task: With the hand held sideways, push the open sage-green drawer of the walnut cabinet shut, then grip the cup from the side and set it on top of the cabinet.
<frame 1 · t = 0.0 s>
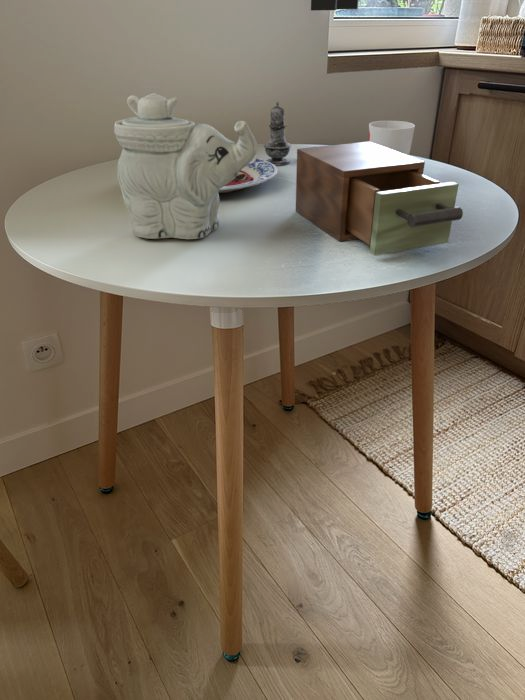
hand: (336, 10, 65), 28 cm above the table, tool pointing down, fingers open, 13 cm apart
ceramic plate: (210, 182, 104), on the table
cup: (385, 181, 103), on the table
salt shaker: (277, 163, 116), on the table
cabinet: (352, 219, 84), on the table
drawer: (396, 209, 73), point 5 cm above the table, slide at 7.0 cm
teapot: (191, 232, 81), on the table
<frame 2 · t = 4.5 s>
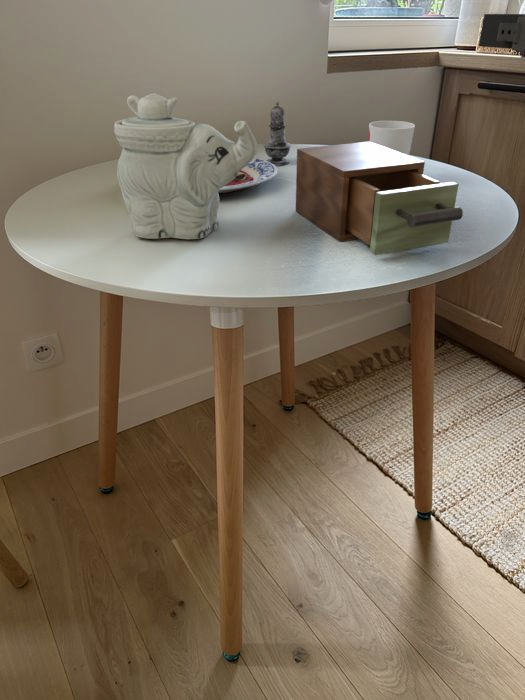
hand: (487, 30, 53), 26 cm above the table, tool horizontal, fingers closed
nothing on the table moved.
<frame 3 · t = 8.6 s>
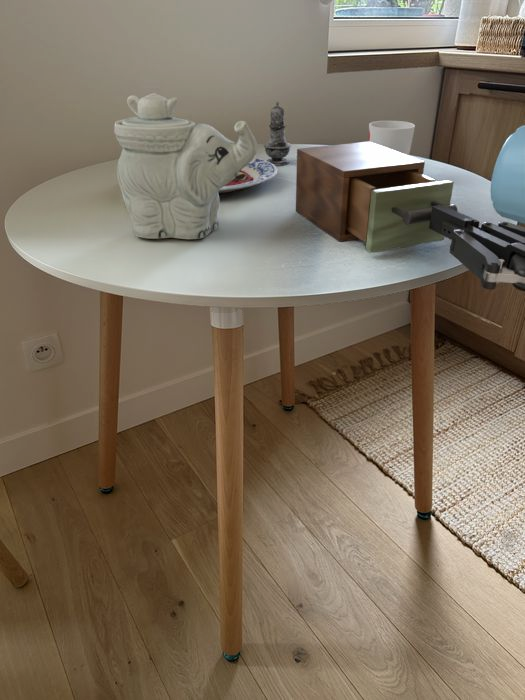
hand: (435, 216, 66), 6 cm above the table, tool horizontal, fingers closed
drawer: (392, 207, 74), point 5 cm above the table, slide at 6.0 cm, touching gripper
everything else where it was.
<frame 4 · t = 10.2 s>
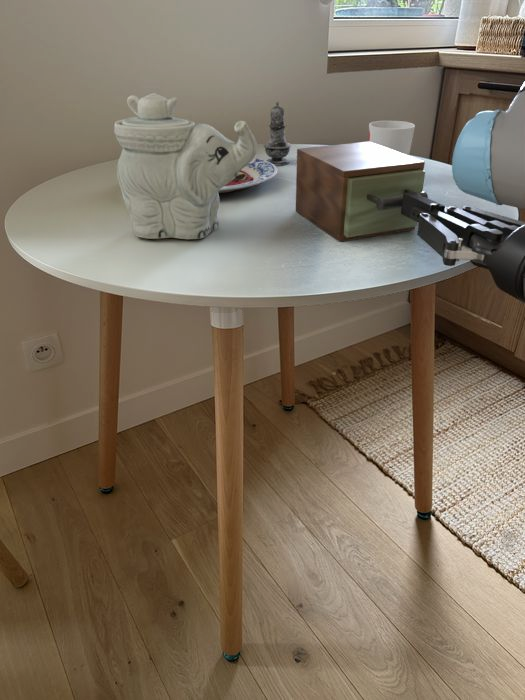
hand: (406, 202, 71), 6 cm above the table, tool horizontal, fingers closed
drawer: (368, 195, 79), point 5 cm above the table, slide at 0.0 cm, touching cabinet, gripper
everything else where it was.
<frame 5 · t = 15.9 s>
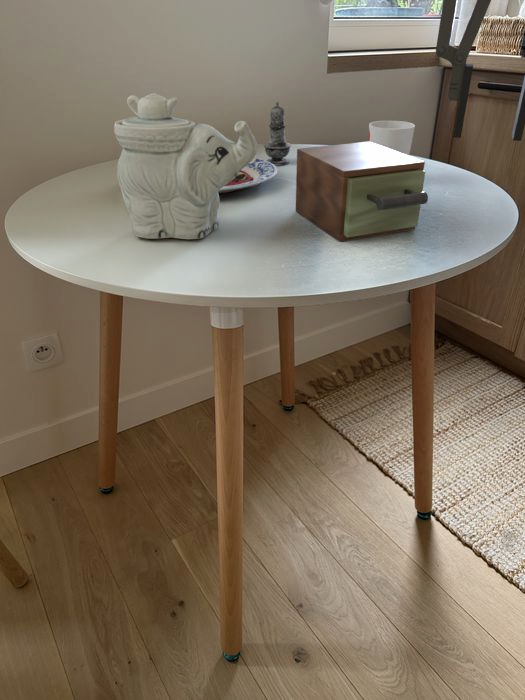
hand: (486, 136, 56), 17 cm above the table, tool pointing down, fingers open, 5 cm apart
drawer: (368, 195, 79), point 5 cm above the table, slide at 0.0 cm, touching cabinet
everything else where it was.
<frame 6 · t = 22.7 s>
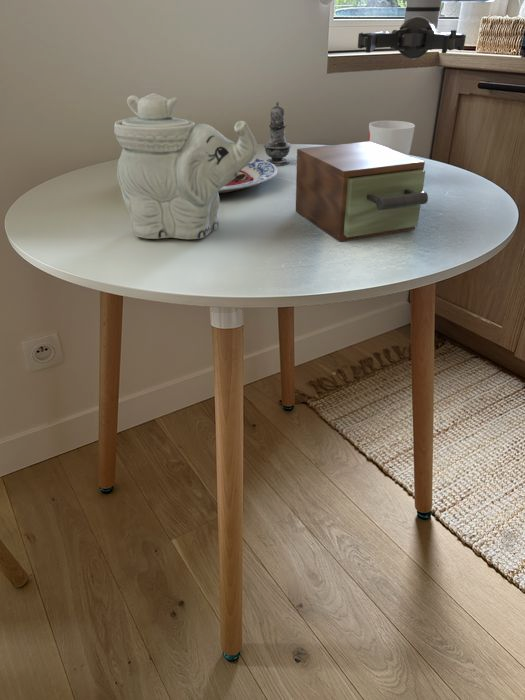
hand: (406, 44, 99), 22 cm above the table, tool horizontal, fingers open, 13 cm apart
nothing on the table moved.
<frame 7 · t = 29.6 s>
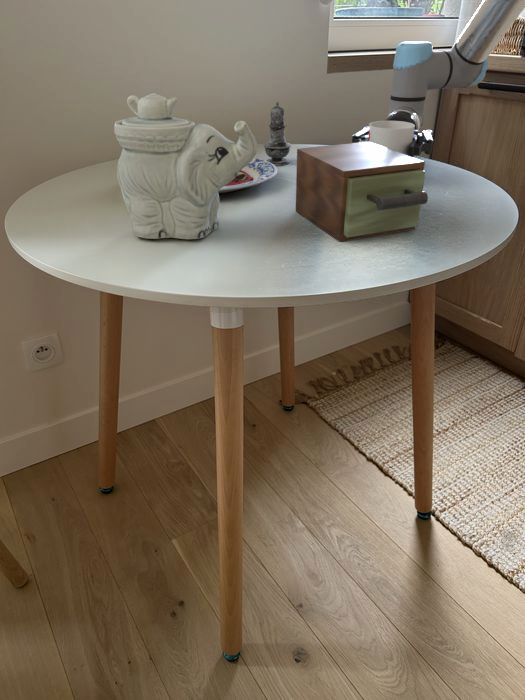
hand: (385, 153, 96), 6 cm above the table, tool horizontal, fingers closed on cup, 8 cm apart
cup: (385, 181, 103), on the table, touching gripper
everything else where it was.
when the fingers open (16 cm above the table, at t = 39.5 s): cup stays where it is, resting on cabinet.
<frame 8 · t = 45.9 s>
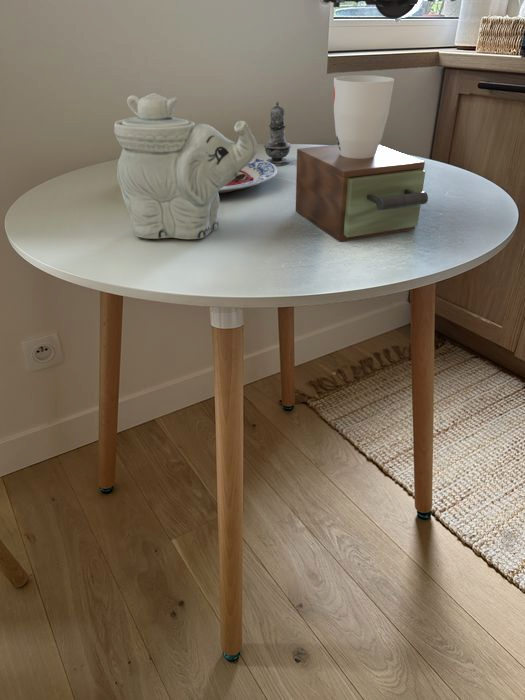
cup: (357, 156, 79), point 10 cm above the table, touching cabinet
everything else where it was.
at the end: drawer slide at 0.0 cm; cup inside the target area on the cabinet (0.0 cm from its centre), point 9.6 cm above the cabinet's base; cup tilted 0° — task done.
